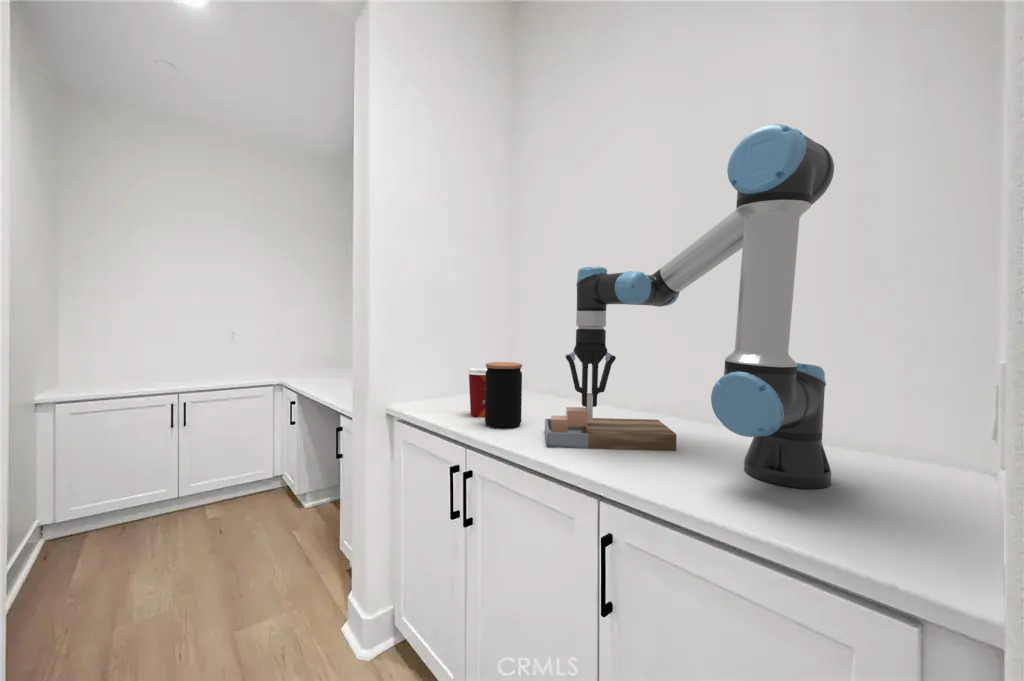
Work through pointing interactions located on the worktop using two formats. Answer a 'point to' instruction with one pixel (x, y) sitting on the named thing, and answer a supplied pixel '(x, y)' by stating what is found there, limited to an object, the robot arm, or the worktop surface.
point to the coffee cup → (477, 391)
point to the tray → (565, 437)
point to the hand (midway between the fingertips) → (588, 418)
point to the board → (629, 434)
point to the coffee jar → (503, 394)
